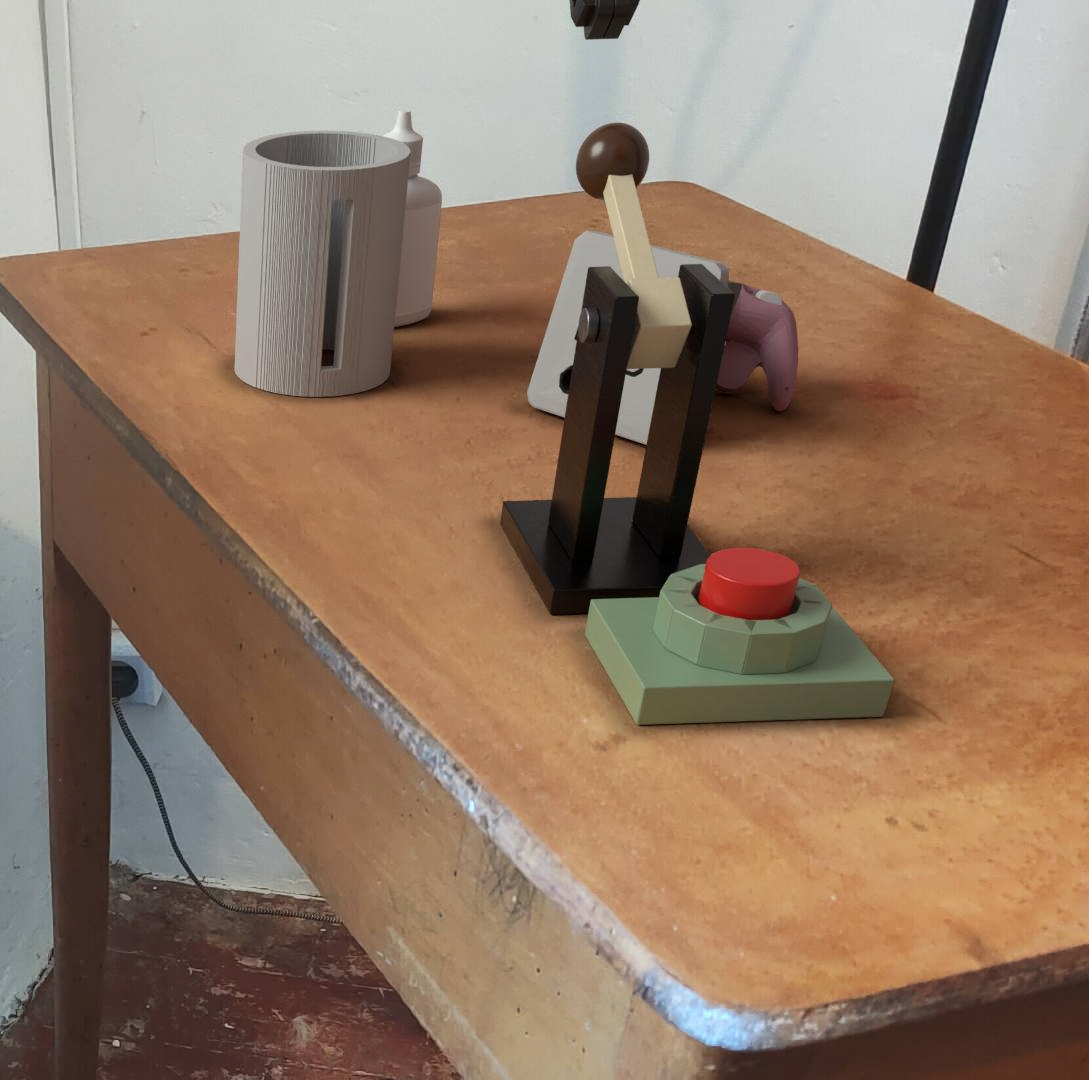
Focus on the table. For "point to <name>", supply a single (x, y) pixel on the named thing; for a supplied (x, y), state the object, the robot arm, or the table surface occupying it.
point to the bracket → (586, 447)
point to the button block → (733, 659)
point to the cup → (319, 260)
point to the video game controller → (761, 345)
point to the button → (749, 584)
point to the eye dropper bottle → (416, 231)
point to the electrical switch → (563, 329)
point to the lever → (635, 242)
